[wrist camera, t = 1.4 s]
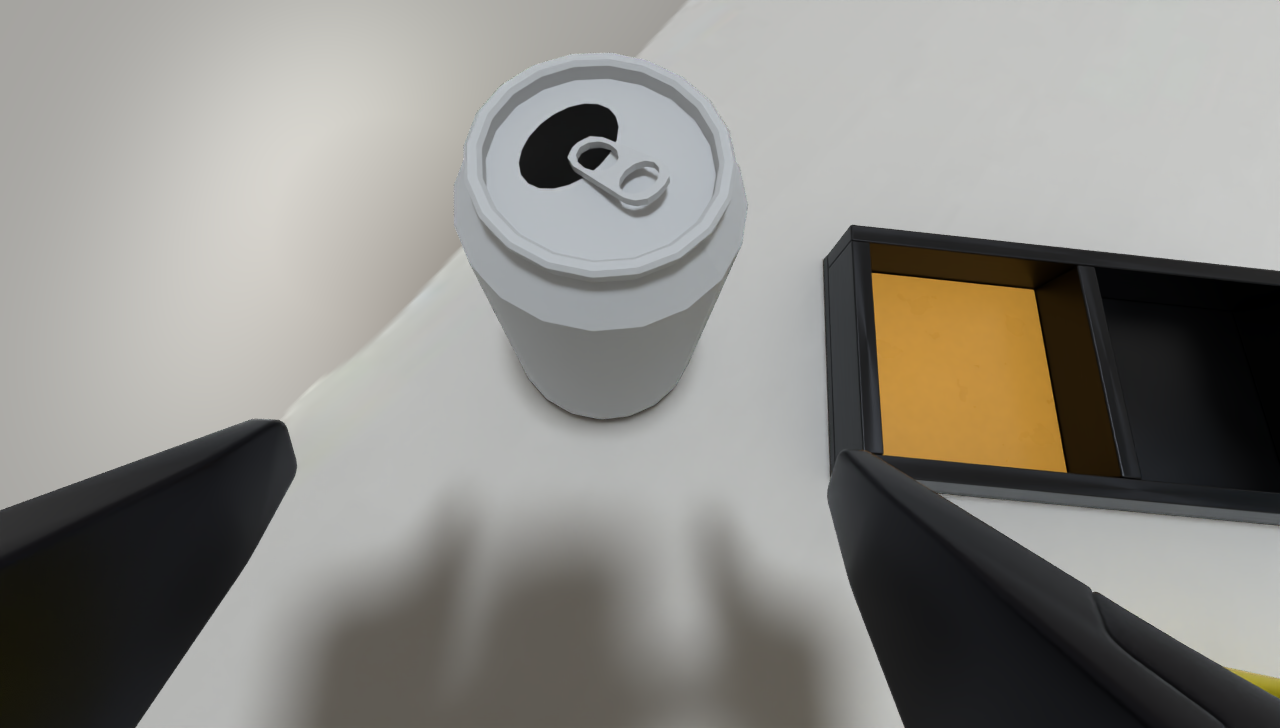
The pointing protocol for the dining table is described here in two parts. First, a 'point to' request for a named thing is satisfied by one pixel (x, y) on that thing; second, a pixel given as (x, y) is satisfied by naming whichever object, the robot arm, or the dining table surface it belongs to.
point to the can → (600, 225)
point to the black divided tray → (1057, 373)
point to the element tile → (1260, 681)
